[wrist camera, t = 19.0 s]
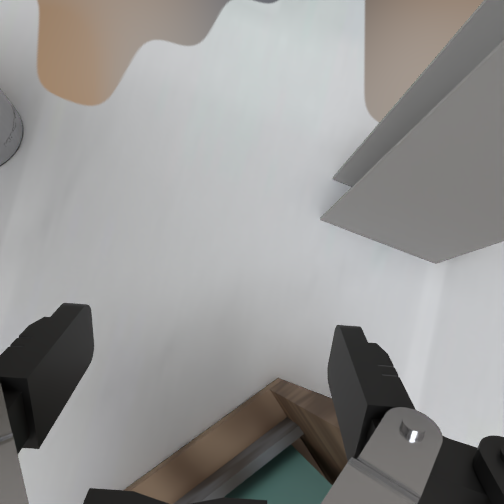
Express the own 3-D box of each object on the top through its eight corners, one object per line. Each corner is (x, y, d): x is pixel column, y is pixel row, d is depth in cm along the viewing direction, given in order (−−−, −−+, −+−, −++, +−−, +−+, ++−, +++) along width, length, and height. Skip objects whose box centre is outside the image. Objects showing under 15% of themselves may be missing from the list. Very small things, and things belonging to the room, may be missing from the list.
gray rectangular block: (445, 220, 46) (875, 11, 17) (436, 263, 45) (889, 115, 16) (333, 176, 45) (588, -122, 16) (320, 219, 44) (575, -25, 15)
